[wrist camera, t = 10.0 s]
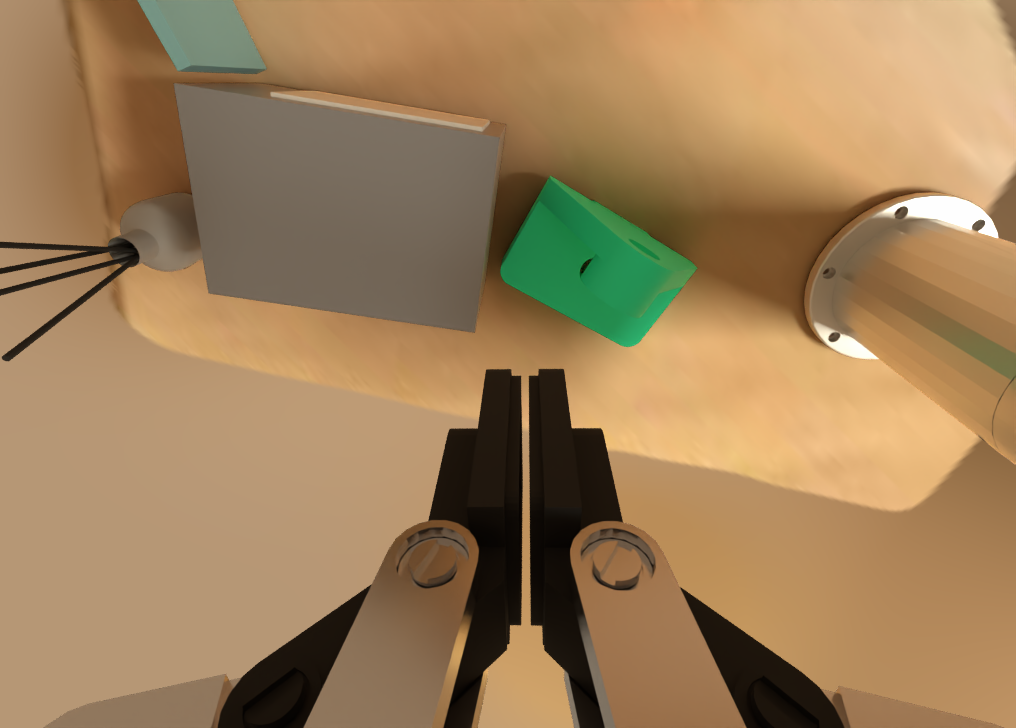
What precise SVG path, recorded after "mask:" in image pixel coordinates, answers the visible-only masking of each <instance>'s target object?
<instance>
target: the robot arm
mask: <svg viewBox="0 0 1016 728" xmlns="http://www.w3.org/2000/svg"><path fill="white" fill-rule="evenodd" d="M804 307H805V315H806V318H807V321H808V323H809V326H810V328H811V329H812V331H813V332H814V333H815V335H816V336H817V337H818V338H819V339H820V340H821V341H822V342H823V343H824V344H825V345H827V346H828V347H830V348H831V349H833V350H834V351H836V352H837V353H840V354H843V355H845V356H848V357H851V358H858V359H864V360H869V359H880V360H881V361H883V362H884V363H885V364H886V365H888V366H889V367H890V368H891V369H893V370H894V371H895V372H897V373H898V374H899V375H900V376H902V377H903V378H904V379H906V380H907V381H908V382H909V383H911V384H912V385H913V386H915V387H916V388H917V389H918V390H920V391H921V392H922V393H923V394H925V395H926V396H927V397H929V398H930V399H931V400H932V401H934V402H935V403H936V404H938V405H939V406H940V407H941V408H943V409H944V410H945V411H947V412H948V413H949V414H950V415H952V416H953V417H954V418H955V419H957V420H958V421H959V422H961V423H962V424H963V425H964V426H966V427H967V428H968V429H970V430H971V431H972V432H973V433H975V434H976V435H977V436H979V437H980V438H981V439H982V440H984V441H985V442H986V443H988V444H989V445H990V446H991V447H993V448H994V449H995V450H997V451H998V452H999V453H1000V454H1002V455H1003V456H1004V457H1006V458H1007V459H1009V460H1010V461H1011V462H1012V463H1014V464H1015V465H1016V244H1015V243H1011V242H1009V241H1006V240H1003V239H999V238H998V232H997V230H996V228H995V226H994V223H993V221H992V219H991V218H990V217H989V216H988V214H987V213H986V212H985V211H984V210H983V209H982V208H981V207H979V206H977V205H976V204H974V203H972V202H971V201H969V200H966V199H963V198H960V197H957V196H953V195H949V194H943V193H937V192H927V193H914V194H909V195H905V196H900V197H896V198H894V199H891V200H888V201H886V202H883V203H881V204H878V205H876V206H875V207H873V208H871V209H869V210H867V211H866V212H864V213H862V214H860V215H859V216H858V217H856V218H855V219H854V220H852V221H851V222H850V223H848V224H847V225H846V226H844V227H843V228H842V229H841V230H840V231H839V232H838V233H837V234H836V235H835V236H834V237H833V238H832V239H831V240H830V242H829V243H828V244H827V246H826V247H825V248H824V250H823V251H822V252H821V254H820V255H819V256H818V258H817V260H816V262H815V264H814V266H813V268H812V270H811V272H810V275H809V278H808V281H807V284H806V287H805V296H804ZM529 451H530V452H529V462H530V574H531V575H530V585H531V625H537V626H538V625H540V626H542V628H543V629H542V630H543V631H542V632H543V645H544V650H545V651H546V652H547V653H548V654H549V655H550V656H551V657H552V658H553V659H554V660H555V661H556V662H557V663H558V664H559V665H560V666H561V667H562V668H563V669H564V681H565V685H566V690H567V695H568V700H569V705H570V710H571V714H572V719H573V724H574V728H1003V727H1001V726H998V725H995V724H992V723H988V722H984V721H980V720H976V719H972V718H968V717H963V716H959V715H955V714H951V713H947V712H943V711H939V710H935V709H930V708H926V707H923V706H918V705H915V704H911V703H906V702H902V701H898V700H894V699H890V698H886V697H882V696H878V695H873V694H870V693H865V692H861V691H857V690H853V689H849V688H845V687H841V686H839V687H838V689H837V690H836V692H831V691H826V690H823V689H820V688H819V687H818V686H817V685H816V684H815V683H814V682H813V681H811V680H810V679H809V678H808V677H806V676H805V675H804V674H803V673H802V672H800V671H799V670H798V669H796V668H795V667H793V666H792V665H791V664H789V663H788V662H786V661H785V660H783V659H782V658H781V657H779V656H778V655H776V654H775V653H773V652H772V651H771V650H769V649H768V648H766V647H765V646H764V645H762V644H761V643H759V642H758V641H756V640H755V639H753V638H752V637H751V636H749V635H748V634H746V633H745V632H744V631H742V630H741V629H739V628H738V627H736V626H735V625H734V624H732V623H731V622H729V621H728V620H726V619H725V618H723V617H722V616H721V615H719V614H718V613H717V612H715V611H714V610H712V609H711V608H709V607H708V606H707V605H705V604H704V603H702V602H701V601H699V600H698V599H696V598H695V597H694V596H692V595H691V594H689V593H688V592H687V591H685V590H684V589H682V588H681V587H679V585H678V582H677V580H676V578H675V576H674V574H673V572H672V570H671V568H670V566H669V563H668V561H667V559H666V557H665V555H664V553H663V551H662V550H661V548H660V547H659V545H658V544H657V542H656V541H655V540H654V539H653V538H652V537H650V536H649V535H648V534H647V533H646V532H645V531H643V530H641V529H639V528H637V527H635V526H633V525H631V524H627V523H623V521H622V516H621V512H620V507H619V503H618V498H617V493H616V489H615V484H614V480H613V475H612V471H611V466H610V462H609V458H608V452H607V448H606V443H605V439H604V434H603V431H602V429H601V428H571V420H570V412H569V405H568V397H567V390H566V382H565V374H564V369H539V374H538V376H529ZM522 471H523V470H522V406H521V376H512V374H511V369H489V370H486V374H485V381H484V388H483V395H482V403H481V410H480V417H479V424H478V429H450V430H449V432H448V436H447V440H446V444H445V449H444V453H443V458H442V462H441V467H440V471H439V476H438V480H437V485H436V489H435V494H434V498H433V502H432V507H431V512H430V516H429V520H428V521H427V522H423V523H419V524H417V525H415V526H413V527H411V528H409V529H407V530H406V531H404V532H403V533H402V534H401V535H400V536H398V537H397V538H396V539H395V541H394V542H393V544H392V545H391V547H390V548H389V550H388V552H387V554H386V556H385V558H384V560H383V562H382V564H381V566H380V569H379V571H378V573H377V575H376V577H375V579H374V581H373V583H372V585H370V586H369V587H367V588H366V589H364V590H363V591H361V592H360V593H358V594H357V595H356V596H354V597H353V598H351V599H350V600H349V601H347V602H345V603H344V604H343V605H341V606H340V607H338V608H337V609H336V610H334V611H332V612H331V613H330V614H328V615H327V616H325V617H324V618H322V619H321V620H320V621H318V622H317V623H315V624H314V625H312V626H311V627H309V628H308V629H307V630H305V631H304V632H302V633H301V634H299V635H298V636H296V638H294V639H292V640H291V641H289V642H288V643H286V644H285V645H283V646H282V647H281V648H279V649H278V650H276V651H275V652H273V653H272V654H271V655H269V656H268V657H266V658H265V659H263V660H262V661H260V662H259V663H258V664H257V665H255V667H253V668H252V669H251V670H250V671H248V672H247V673H246V674H245V675H244V676H243V677H242V678H239V679H234V680H229V679H228V677H227V675H226V674H224V675H219V676H214V677H210V678H205V679H201V680H196V681H191V682H187V683H182V684H178V685H173V686H168V687H164V688H159V689H155V690H150V691H146V692H141V693H136V694H131V695H127V696H122V697H118V698H113V699H109V700H104V701H99V702H95V703H90V704H87V705H84V706H81V707H79V708H76V709H73V710H71V711H68V712H67V713H65V714H63V715H62V716H60V717H59V718H57V719H56V720H54V721H53V722H51V723H49V724H48V725H46V726H45V727H44V728H478V723H479V718H480V713H481V709H482V704H483V699H484V694H485V690H486V685H487V680H488V667H489V666H490V665H491V664H492V663H493V662H494V661H495V660H496V659H497V658H499V657H500V656H501V655H502V654H503V653H504V652H505V651H506V650H507V644H509V640H510V625H521V599H522V593H521V592H522V492H523V490H522V489H523V482H522V481H523V479H522V478H523V476H522V475H523V472H522Z"/></svg>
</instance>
